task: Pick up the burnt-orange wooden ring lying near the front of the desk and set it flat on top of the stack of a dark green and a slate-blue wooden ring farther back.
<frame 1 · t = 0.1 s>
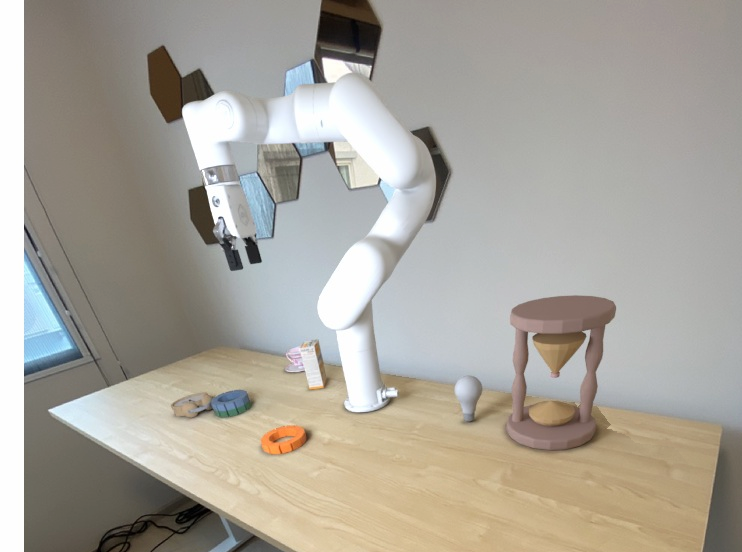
hand: (246, 266, 98), 37 cm above the table, tool pointing down, fingers open, 9 cm apart
lightbulb: (469, 422, 96), on the table
ring stack: (233, 409, 123), on the table
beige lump: (197, 411, 126), on the table
teacup: (301, 367, 148), on the table
orange ring: (284, 442, 100), on the table
hourglass: (549, 430, 88), on the table
supplement box: (319, 384, 130), on the table
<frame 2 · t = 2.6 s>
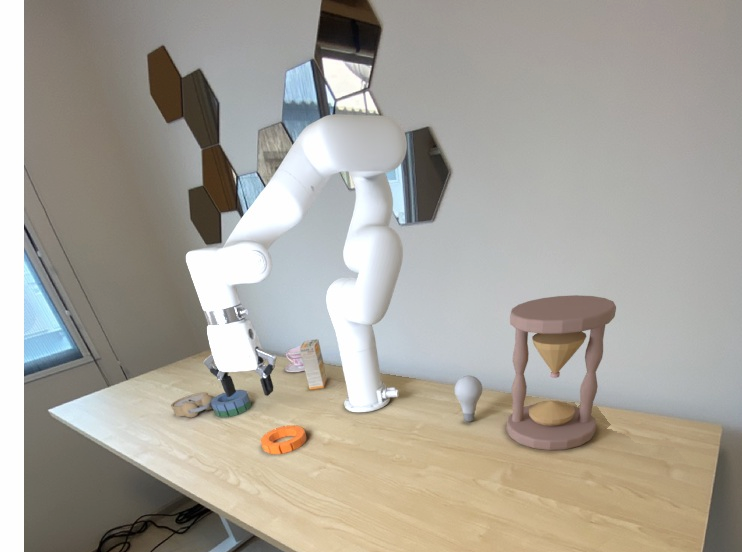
hand: (250, 394, 94), 13 cm above the table, tool pointing down, fingers open, 9 cm apart
nothing on the table moved.
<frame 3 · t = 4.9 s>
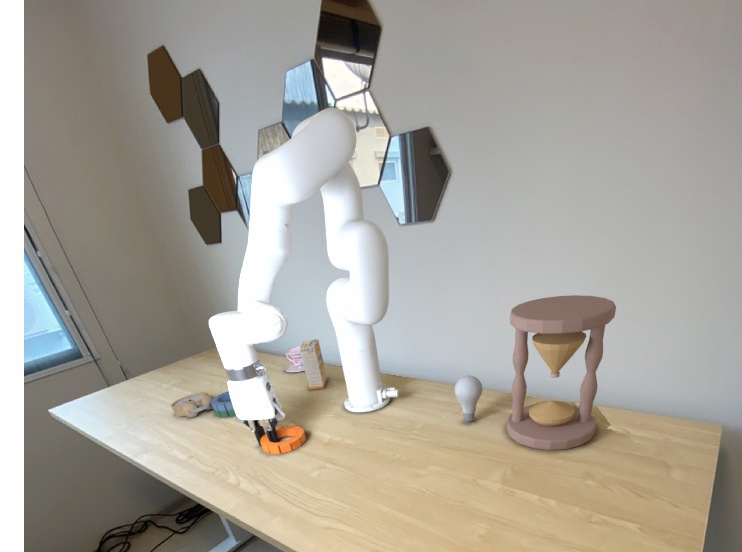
hand: (269, 442, 101), 0 cm above the table, tool pointing down, fingers closed on orange ring, 2 cm apart
orange ring: (284, 442, 100), on the table, touching gripper
everything else where it was.
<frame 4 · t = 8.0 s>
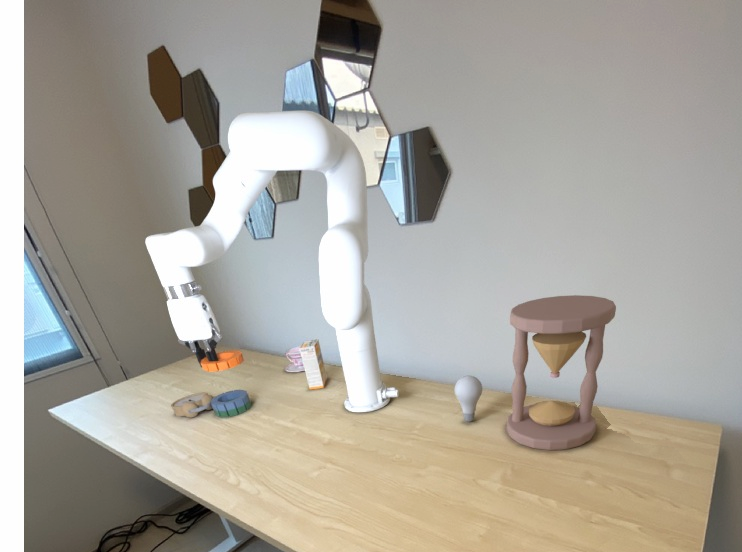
hand: (210, 364, 110), 16 cm above the table, tool pointing down, fingers closed on orange ring
orange ring: (223, 364, 109), point 15 cm above the table, touching gripper
everything else where it was.
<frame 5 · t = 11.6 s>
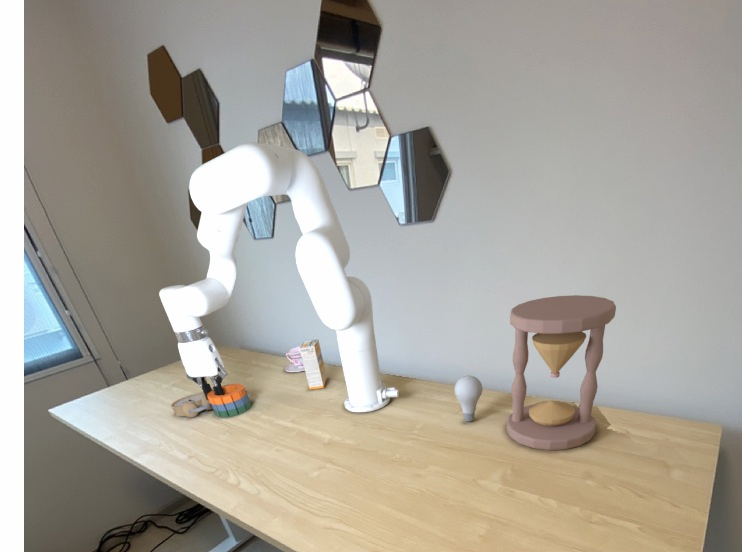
hand: (215, 397, 122), 4 cm above the table, tool pointing down, fingers open, 3 cm apart
orange ring: (228, 397, 121), point 4 cm above the table, touching ring stack
everything else where it was.
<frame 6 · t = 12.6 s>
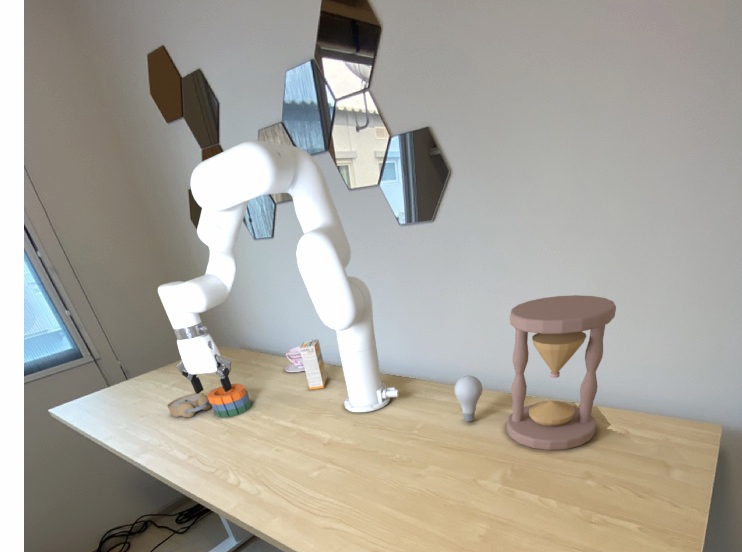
hand: (214, 391, 121), 6 cm above the table, tool pointing down, fingers open, 9 cm apart
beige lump: (193, 411, 127), on the table
everything else where it was.
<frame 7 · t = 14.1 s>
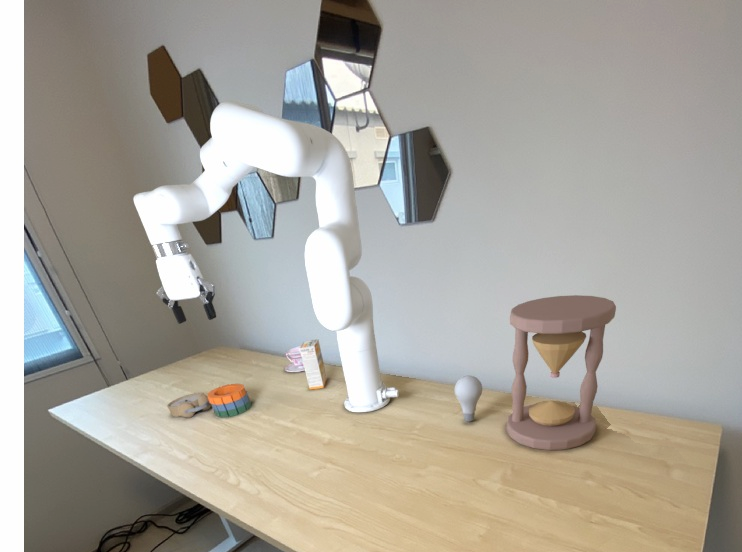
hand: (197, 320, 113), 25 cm above the table, tool pointing down, fingers open, 9 cm apart
nothing on the table moved.
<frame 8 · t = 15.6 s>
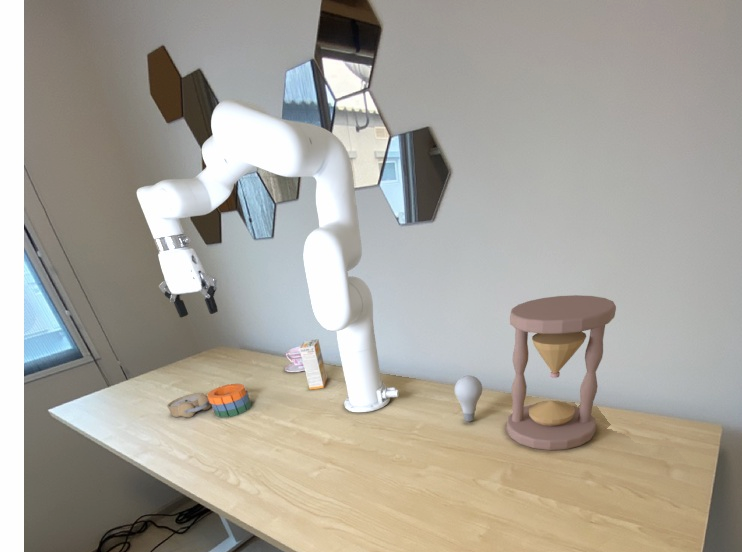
hand: (199, 314, 114), 26 cm above the table, tool pointing down, fingers open, 9 cm apart
nothing on the table moved.
at the end: orange ring 0.3 cm off-centre on the ring stack, point 4.0 cm above the ring stack's base; orange ring tilted 0° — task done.
